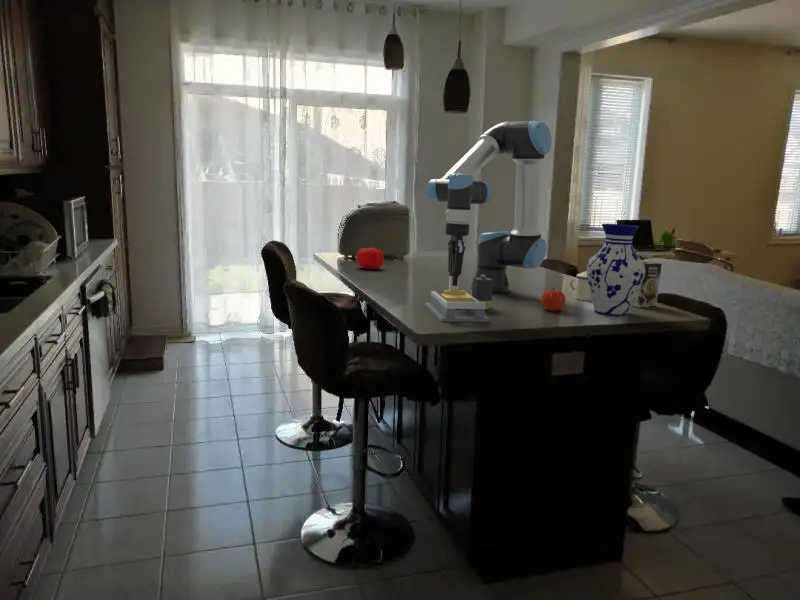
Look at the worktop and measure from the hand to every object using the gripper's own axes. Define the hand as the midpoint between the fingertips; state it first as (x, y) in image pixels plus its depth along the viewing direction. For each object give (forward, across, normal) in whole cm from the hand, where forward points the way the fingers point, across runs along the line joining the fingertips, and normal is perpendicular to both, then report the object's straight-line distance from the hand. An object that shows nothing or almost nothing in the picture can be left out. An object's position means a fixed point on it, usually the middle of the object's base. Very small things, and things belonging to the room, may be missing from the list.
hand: (453, 295), depth 209 cm
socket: (+5, +4, 0) cm, 6 cm away
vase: (+5, 0, +56) cm, 56 cm away
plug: (+5, -6, +12) cm, 14 cm away
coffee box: (+5, -14, +75) cm, 77 cm away
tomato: (+6, -94, -16) cm, 96 cm away
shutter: (+1, +4, 0) cm, 4 cm away
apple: (+5, -3, +36) cm, 37 cm away
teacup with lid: (+5, -26, +58) cm, 64 cm away
